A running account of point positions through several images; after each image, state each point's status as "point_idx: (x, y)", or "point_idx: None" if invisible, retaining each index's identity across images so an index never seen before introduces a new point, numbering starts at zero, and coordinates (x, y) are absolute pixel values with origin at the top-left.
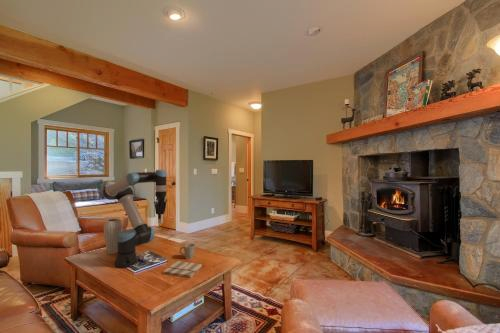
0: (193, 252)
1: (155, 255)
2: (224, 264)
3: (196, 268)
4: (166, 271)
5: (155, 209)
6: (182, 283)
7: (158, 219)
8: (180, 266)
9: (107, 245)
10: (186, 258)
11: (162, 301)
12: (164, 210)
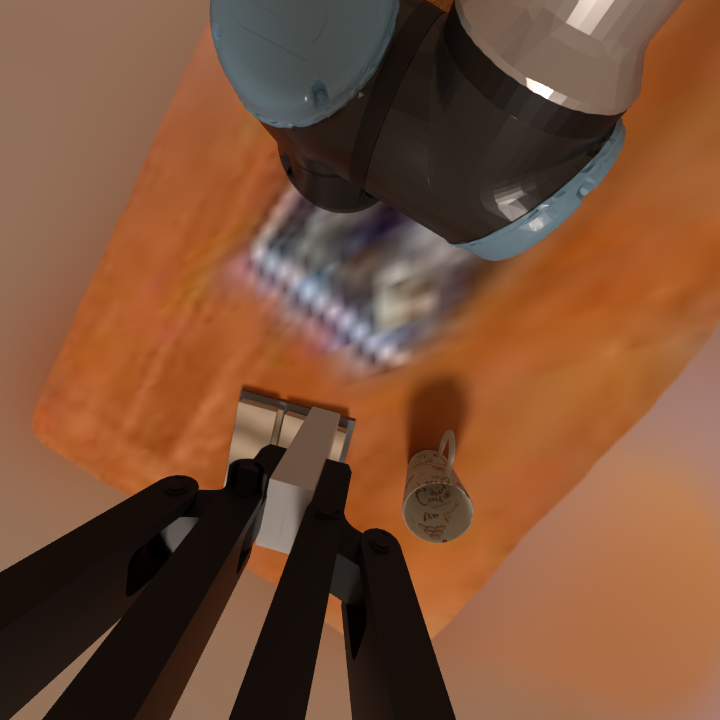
0: (424, 510)
1: (469, 272)
2: None
3: None
4: (238, 416)
5: (32, 559)
6: None
7: (298, 434)
8: None
9: None
10: (410, 461)
11: (67, 455)
12: (356, 638)
